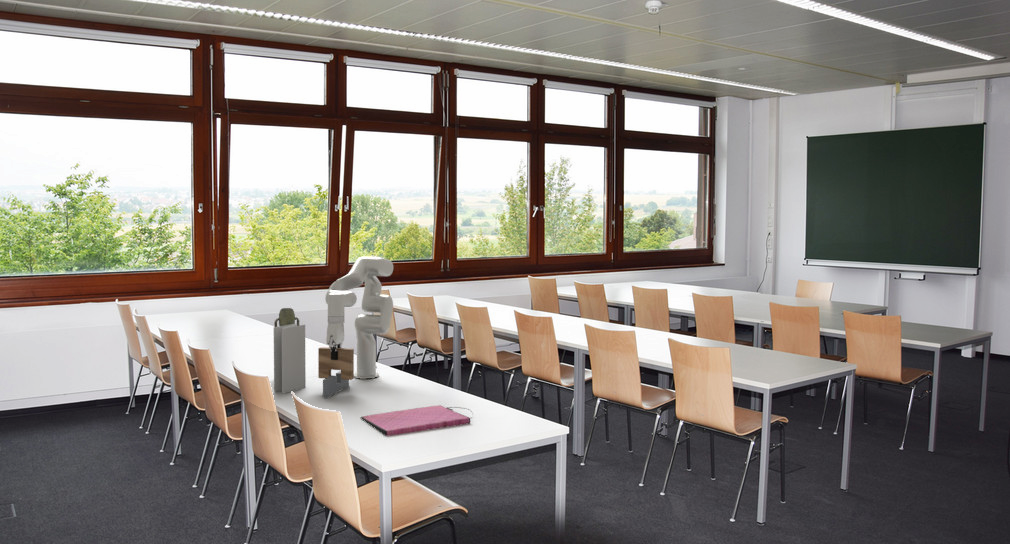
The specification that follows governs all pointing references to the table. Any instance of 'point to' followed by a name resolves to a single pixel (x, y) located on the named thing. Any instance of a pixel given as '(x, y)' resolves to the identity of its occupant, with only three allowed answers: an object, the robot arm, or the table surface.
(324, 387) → the stepped grey block
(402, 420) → the laptop bag
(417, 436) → the table surface
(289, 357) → the tall grey pillar
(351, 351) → the walnut plate
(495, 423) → the table surface
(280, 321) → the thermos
